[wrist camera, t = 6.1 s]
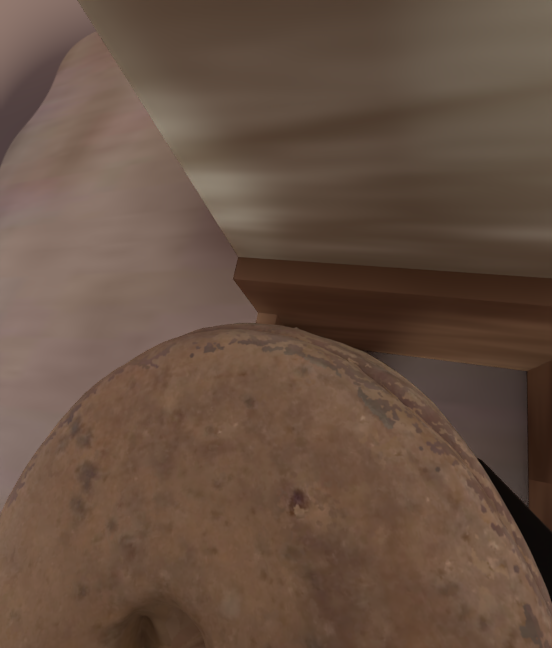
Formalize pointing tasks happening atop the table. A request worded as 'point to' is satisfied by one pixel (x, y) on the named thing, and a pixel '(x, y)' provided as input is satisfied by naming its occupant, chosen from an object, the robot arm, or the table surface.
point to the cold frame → (370, 168)
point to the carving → (262, 511)
